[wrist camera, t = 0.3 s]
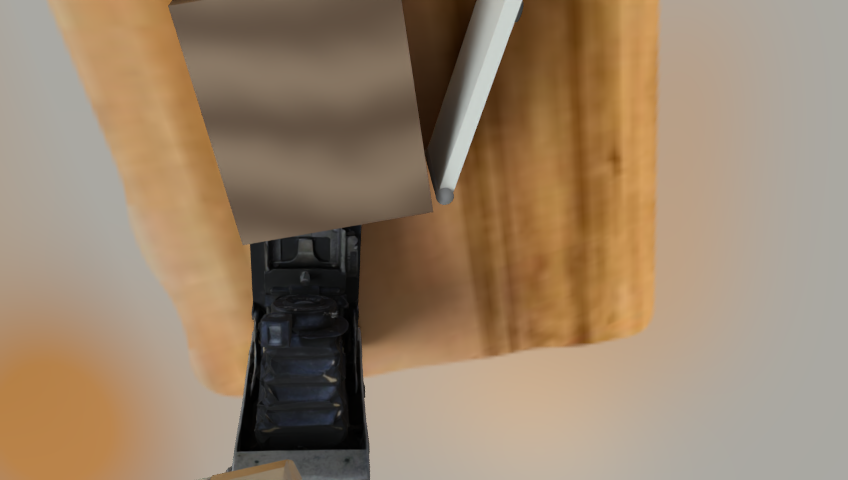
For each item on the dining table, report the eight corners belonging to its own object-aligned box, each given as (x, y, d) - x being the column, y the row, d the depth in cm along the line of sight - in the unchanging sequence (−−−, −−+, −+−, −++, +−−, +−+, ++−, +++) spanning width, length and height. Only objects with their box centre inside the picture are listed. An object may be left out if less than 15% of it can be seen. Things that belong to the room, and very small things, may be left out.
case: (191, -26, 49) (168, 5, 42) (386, -58, 50) (396, -33, 42) (253, 188, 58) (242, 245, 50) (419, 159, 58) (433, 212, 51)
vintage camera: (369, 196, 60) (380, 346, 42) (363, 353, 67) (370, 536, 50) (245, 193, 59) (204, 346, 41) (253, 353, 66) (220, 540, 48)
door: (486, -38, 51) (509, -14, 44) (515, -29, 51) (541, -4, 45) (422, 157, 58) (434, 202, 51) (448, 163, 58) (462, 209, 52)
